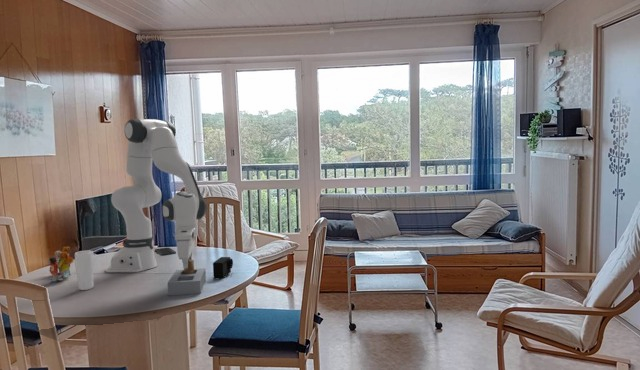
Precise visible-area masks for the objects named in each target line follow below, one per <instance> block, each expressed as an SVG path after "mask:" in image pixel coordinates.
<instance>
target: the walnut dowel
mask: <svg viewBox="0 0 640 370" xmlns="http://www.w3.org/2000/svg"><path fill="white" fill-rule="evenodd" d="M194 269H195V261H194V259H192V260H188V268H183V270H184V274H194Z"/></svg>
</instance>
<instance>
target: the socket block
mask: <svg viewBox="0 0 640 370" xmlns="http://www.w3.org/2000/svg"><path fill="white" fill-rule="evenodd" d="M206 272H207V271H206V268H204V267H203V268H194V274H184V269H175V271H174V272H173V274H172V275H171V277H170V278H169V280H167V281H168V282H167V296H181V295H183V296H185V295H196V294H197V295H199V294H201V293H202V290H203V288H204V285H205V283H206V281H207V276H206Z"/></svg>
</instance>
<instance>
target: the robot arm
mask: <svg viewBox="0 0 640 370" xmlns="http://www.w3.org/2000/svg"><path fill="white" fill-rule="evenodd" d="M176 133H177V131H176V127H175V125H174V124H173V123H172V122H170V121H167V120H162V119H161V120H160V119H154V118H149V119H148V118H132V119H128V121H127V122H126V123H125V126H124V135H125V138H126V139H127V140H128V141H129V142H128V145H127V152H126V153H127V154H126V167H125V170H126V173H127V174H128V175H129V177H131V179H133V185H130V186H129V185H127V186H123V187H120V188H117V189H115V190H114V191H113V192H112V193H111V198H110V200H111V204H112V206H113V207H114V208H115V209H116V210H117V211H119V212H120V213H121V215H122V217H123V219H124V223H125V228H126V229H125V230H126V237H125V238H124V239H123V240H122V244H121V245H122V246H123V247H121V248H120V249H119V250H118V251H116V252H115V253H114V254H113V255H112V256H111V258H110V264H109V265H108V266H106V268H105V272H106V273H140V272H143V271H146V270H149V269H154V268H155V267H157V266H158V262H157V260H156V256H155V252H154V251H155V248H154V247H155V241H154V236H153V225H152V221H151V219H150V218H149V217H147V216H146V215H145V213H144V210H143V209H144V208H150V207H153V206H155V205H156V204H158V203H160V202H161V200H162V191H161V189H160V187H158V185H157V184H156V183H155V180H154V177H153V164H154V166H155V167H156V168H157V169H158V170H160V171H161V172H164V173H165V174H166V173H167V174H170V175H173V176H176V177H177V178H179V179H180V180H182V182H183V184H184V187H185V189H186V191H184V190H183V191H178V192H176V193H175V194H174V196H173V197H172V198H169V199H167V200H165V201H164V202H163V204H162V207H161V212H162V216H163V219H165V220H166V221H168V222H175V224H174V232H175V233H174V241H176V248H177V250H176V253H177V257H178V260H181V261H182V266H183V269H184V268H188V260H193V253H194V250H195V248H196V240H195V239H196V238H195V237H197V236H199V234H198V232H199V231H198V229H199V227H198V221H197V220H201V219H203V217H204V216H205V215H206V213H207V210H208V206H207V203H206V200H205V198H204V197H203V195H202V193H201V190H200V187H199V185H198V182H197V180H196V177H195V175H194V172H193V170H192V167H191V166H190V164H189V163H188V162H187V161H185V160H184V159H183V158H182V157H183V156H181V154H180V151H179V147H178V143H177V140H176V135H177V134H176Z"/></svg>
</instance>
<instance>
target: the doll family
mask: <svg viewBox="0 0 640 370" xmlns="http://www.w3.org/2000/svg"><path fill="white" fill-rule="evenodd" d="M70 248H71V247H70V246H63V248H62V249H61V250H62V251H61V250H56V251H55V252H54V253H53V254H54V255H55V257H54V256H52V257H49V259H48V264H50V267H49V270H48V271H49V273H50V274H51V275H52V276H51V277H52V278H51V281H49V285H52V284H57V283H59V282H60V279H59V276H61V278H62V279H61V282H66V281H69V280H70V279H71V278H70V276H71V271H70V268H71V264H73V263H74V261H75V257H74V258H73V257H71V256H70V254H69V253H70Z"/></svg>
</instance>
